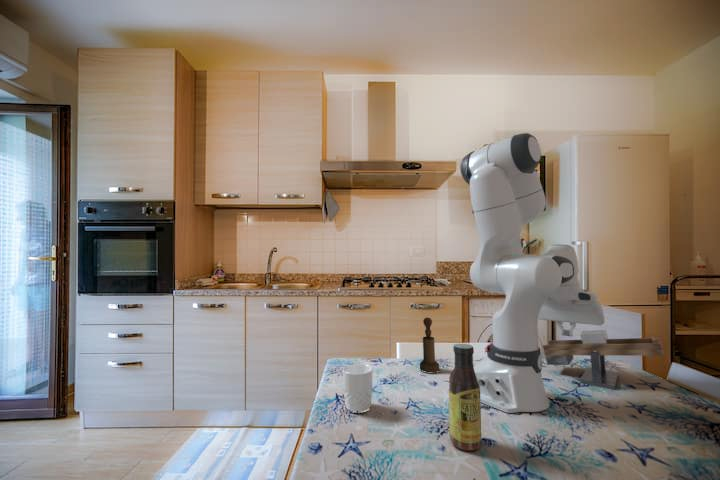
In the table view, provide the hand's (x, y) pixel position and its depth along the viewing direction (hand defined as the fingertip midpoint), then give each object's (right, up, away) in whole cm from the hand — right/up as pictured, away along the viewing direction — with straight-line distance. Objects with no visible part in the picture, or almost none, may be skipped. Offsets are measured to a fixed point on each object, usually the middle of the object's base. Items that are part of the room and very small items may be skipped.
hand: (567, 335), depth 102 cm
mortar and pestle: (-44, -14, +5) cm, 47 cm away
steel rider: (+6, -2, -5) cm, 8 cm away
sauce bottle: (-46, -11, -38) cm, 61 cm away
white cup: (-69, -13, -21) cm, 73 cm away
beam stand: (+6, -12, -6) cm, 14 cm away
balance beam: (+7, -6, -7) cm, 11 cm away
